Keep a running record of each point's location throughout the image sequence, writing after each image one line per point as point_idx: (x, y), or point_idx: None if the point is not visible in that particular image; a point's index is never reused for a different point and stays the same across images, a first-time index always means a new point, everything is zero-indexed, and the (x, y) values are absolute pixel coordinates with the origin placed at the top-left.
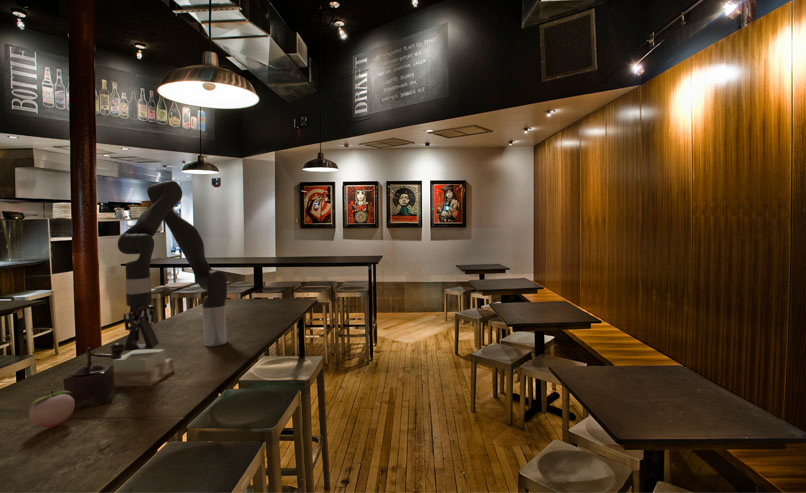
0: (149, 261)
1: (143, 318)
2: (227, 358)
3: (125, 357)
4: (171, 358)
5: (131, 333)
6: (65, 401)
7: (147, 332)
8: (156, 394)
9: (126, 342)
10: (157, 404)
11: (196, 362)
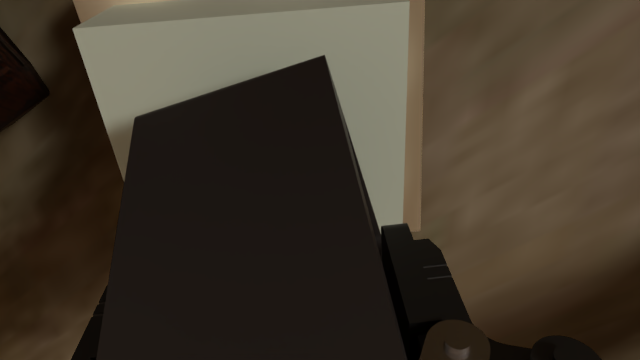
0: None
1: None
2: (562, 325)
3: (162, 99)
4: (419, 223)
5: (82, 352)
6: None
7: None
8: (99, 294)
9: (126, 187)
10: (23, 349)
11: (528, 226)
